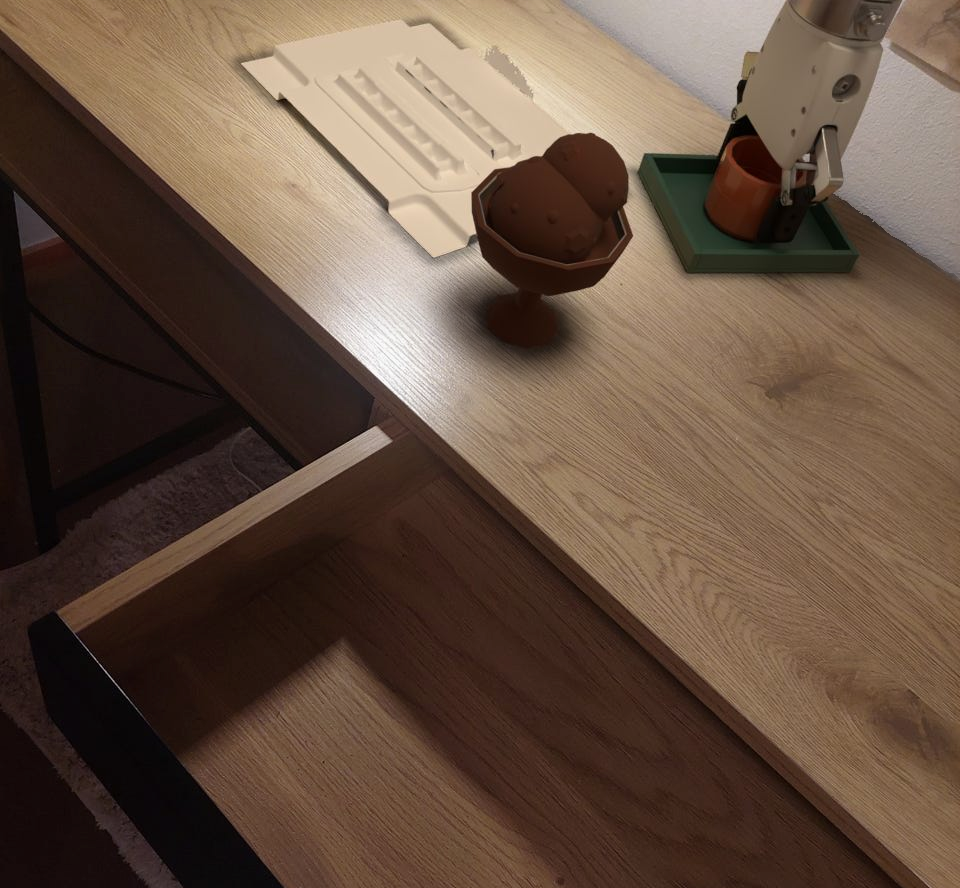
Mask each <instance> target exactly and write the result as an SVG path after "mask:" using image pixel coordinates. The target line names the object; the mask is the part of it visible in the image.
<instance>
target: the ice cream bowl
mask: <svg viewBox="0 0 960 888" xmlns="http://www.w3.org/2000/svg"><path fill="white" fill-rule="evenodd" d="M629 177H630V176H629V173H628V169H627V166H626V163H625V161H624V159H623V158H622V156H621V155H620V154H619V152H618V151H617V149H616V148H615V147H614V145H613V144H612V143H610V142H608V141H607V140H606V139H604V138H603V137H601V136H599V135H596V134H595V133H594V132H587V133H585V132H584V133H582V132H575V133H570V134H568V135H565V136H562V137H560V138H558V139H557V140H556V141H554V143H553V144H552V145H551V146H550V147H549V148H547V150H546V151H545V153H544V154H543V156H534V157H531V158H530V159H526V160H523V161H520V162H517V163H516V164H515V165H514V166H511V167H507V168H500V169H494V170H493V171H492V172H491V173H490V174H489V175H488V176H487V177H486V178H485V179H484V180H483V181H482V182H481V183H480V184H479V185H478V186H477V187H476V188H475V189H474V190H473V191H472V192H471V202H472V216H473V221H474V225H475V230H476V234H475V235H476V239H477V242H478V246H479V251H480V253H481V257H482V258H483V259H484V261H485V262H486V263H487V264H488V265H489V266H490V267H491V268H492V269H493V270H494V271H495V272H496V273H498V274H499V275H500V276H502V277H503V278H504V279H505V280H506V281H508V282H509V283H510V284H511V285H512V286H513V287H514V288H517V289H518V290H517V291H513V292H509V293H504V294H498V295H497V297H496V298H494V300H493V301H492V302H491V304H490V305H489V306H488V308H487V309H486V310H485V311H484V312H485V317H486V321H487V327H488V329H489V330H490V331H491V332H492V333H494V335H496V336H497V337H498V338H500V339H501V340H502V341H504V343H506V344H509V345H515V346H518V347H522V348H525V349H532V348H536V347H541V346H546V345H549V344H550V343H551V342H552V340H554V338H555V337H556V335H557V334H558V333H559V323H558V319H557V316H556V312H555V309H553V307H551V306H550V305H549V304H548V303H546V302H545V301H544V300H543V299H542V297H543V296H547V297H553V296H558V295H562V294H568V293H573V292H579V291H582V290H585V289H589V288H593V287H595V286H596V285H597V284H598V283H599V282H601V281H602V280H603V279H604V278H605V277H606V276H607V274H608V273H609V272H610V270H611V269H612V268H613V266H614V265H615V263H616V262H617V261H618V260H619V258H620V257H621V255H622V254H623V253H624V252H625V250H626V249H627V247H628V245H629V244H630V242H631V240H632V239H633V237H634V234H633V231H632V229H631V225H630V223H629V222H630V221H629V219H628V217H627V214H626V211H625V208H624V206H625V205H626V204H627V203H628V197H629V196H628V195H629V190H630V189H629V186H630V185H629V184H630V183H629V179H630V178H629Z"/></svg>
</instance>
